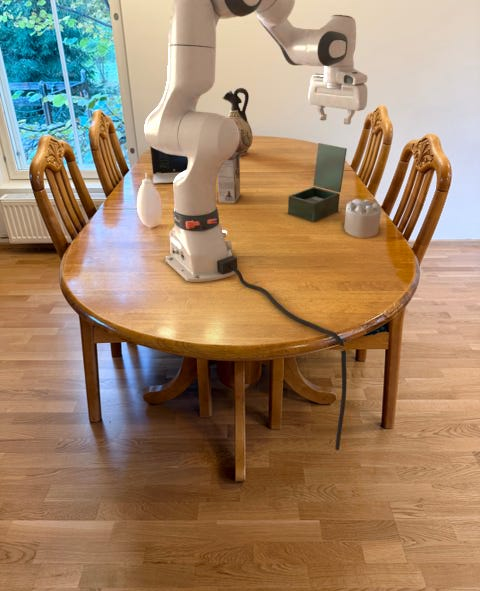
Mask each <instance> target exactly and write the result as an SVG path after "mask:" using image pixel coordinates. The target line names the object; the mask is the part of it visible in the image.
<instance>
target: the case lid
mask: <svg viewBox="0 0 480 591" xmlns="http://www.w3.org/2000/svg"><path fill="white" fill-rule="evenodd" d="M347 150H348V148H346V147H341V146H336V145H332V144H327V143H322V142H318V143H317V150H316V158H315V167H314V174H313V183H312V187H316V188H320V189H324V190H328V191H331V192H335V193H339V194H341V192H342V185H343V178H344V171H345V165H346V157H347Z"/></svg>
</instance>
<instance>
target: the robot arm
mask: <svg viewBox="0 0 480 591" xmlns="http://www.w3.org/2000/svg"><path fill="white" fill-rule="evenodd" d="M295 3H296V0H173V1H172V4H171V5H172V6H171V10H170V17H169V27H168V55H167V56H168V58H167V59H168V60H167V62H168V63H167V64H168V65H167V81H166V86H165V90H164V93H163V96H162V98H161V100H160V102H159V104H158V106H157V107H156V108H155V109H154V110H153V111H152V112H151V113H150V114H149V115H148V116H147V118H146V120H145V124H144V136H145V140H146V142H147V144H148V145H149V147H150V146H151V147H152V148H154V149H156V150H159V151H161V152H164V153H166V154H172V155H179V156H186V157H187V158H188V167H187V170H185V171H183V172H182V173H180V174H179V175H178V176H177V177H176V178H175V180H174V182H173V183H172V192H173V203H174V208H173V214H172V215H173V217H172V218H173V223H174V226H173V227H172V229H171V230H170V231H169V248H170V249H169V250H170V254H168V255H166V256H165V259H164V260H165V263H167V265H168V266H170V267H171V268H172V269H173V270H174V271H175V272H176V273H177V274H178V275H179V276H181V278H183V279H184V280H185V281H186V282H189V283H202V282H203V283H204V282H212V281H218V280H222V279H226V278H229V277H232V276H234V275H237V277H238V280H239V282H240V283H241V284H242V285H243V286H245V287H247V288H249V289H253V290H256V291H259V292H261V293H263V295H265V296H266V297H267V298H268V299H269V302H271V303H272V304H273V306H275V307H276V308H277V309H278V310H279V311H280V312H282V313H283V314H284V315H285V316H287V317H288V318H290V319H291V320H293V321H295V322H297V323H299V324H301V325H304V326H306V327H309V328H310V329H313V330H315V331H318V332H320V333H322V334H325V335H328V336H331V337H332V338H333V339H334V340H335V341H336V342H337V343H338V345H339V346H340V347H344V346H345V343H344V340H342V338H341V337H340V335H339V334H337V333H336V332H335V331H333V330H330V329H326V328H324V327H322V326H319V325H317V324H315V323H312V322H310V321H307V320H305V319H303V318H301V317H298V316H296V315H294V314H293V313H291V312H290V311H289V310H287V309H286V308H285V307H283V306H282V305H281V304H280V303H279V302H278V301H276V299H275V298H274V297H273V295H272V294H271V293H270V292H269V291H268V290H267V289H265V288H263V287H262V286H259V285H255V284H251V283H249V282H247V281H246V280H245V279H244V277H243V274H242V273H241V271H240V270H239V269H238V257H236V256H235V255H233V253H232V249H233V248H232V245H233V244H232V241H230V240H228V241H227V240H226V239H225V238H227V234H228V231H227V230H223V225H222V223H220V213H219V208H218V206H217V181H218V172H219V170H220V168H221V166H222V165H223V163H224V162H225V161H226V160H227V159H229V158H230V157H231V156H232V155H233V154H234V153H235V151H236V150H237V147H238V144H239V130H238V127H237V125H236V123H235V122H234V120H232V119H231V118H228V117H227V116H225V115H223V114H219V113H217V112H207V111H206V112H205V111H197V105H198V102H199V99H200V98H201V97H202V96H203V95H204V94H206V93H208V92H209V91H210V90H211V89H212V88H213V87H214V85H215V82H216V65H217V64H216V63H217V62H216V61H217V60H216V59H217V25H218V22H219V20H226V19H233V18H236V17H240V18H242V17H247V16H249V15H251V14H252V13H254V14H255V15H256V17H257V19H258V21H259V23H260V24H261V26H262V27H263V28H264V29H265V31H266V32H267V34H269V35H270V36H271V37H272V39H273V40H274V42H275V43H276V44H277V46H278V47H279V49H280V51H281V53H282V55H283V57H284V59H285V61H286V62H287V63H288V64H289V65H291V66H309V67H322V68H324V69H323V73H314V74H313V75H312V76H311V77H310V86H309V90H308V99H307V100H308V104H309V105H312V106H316V107H317V108H316V109H317V111H318V114H319V120H320V121H326V120H327V116H328V114H327V113H325V110H324V109H325V107H327V108H333V109H334V108H335V109H341V110H347V116H346V117H345V118H343V124H344V125H351V123H352V118H353V117H354V115H355V113H356V112H361V111H364V110H365V109H366V108H367V105H368V86H367V84H366V83H367V82H368V75H367V74H365V73H364V72H362V71H359V70H358V69H356V68H355V61H354V54H355V51H356V44H357V23H356V19H355V18H354V17H352V16H350V15H347V14H345V15H343V14H333V15H331V16H330V17H329V20H328V22H327V23H326V24H325V25H323V26H321V27H320V28H319V29H317V28H316V29H315V28H301V27H295V26H294V25H293V24H292V23H291V22H290V21H289V19H288V18H289V17H290V15H291V14H292V11H293V10H294V7H295ZM340 355H341V356H340V357H341V364H340V365H341V397H340V398H341V399H340V406H339V407H340V408H339V415H338V423H337V430H336V437H335V446H334V447H335V448H334V449H335V450H336V451H340V446H341V438H342V430H343V429H342V428H343V422H344V417H345V408H346V401H347V350H345V349H344V350H341V351H340Z"/></svg>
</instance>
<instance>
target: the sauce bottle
mask: <svg viewBox="0 0 480 591" xmlns="http://www.w3.org/2000/svg"><path fill="white" fill-rule="evenodd" d="M136 210H137V215H138V217H139V219H140V221H141V223H142V224H143V225H145V226H146V227H148V228H151V229H153V228H155V227H157V226H158V225H159V224H160V222H161V220H162V217H163V203H162V199H161V195H160V193H159V191H158V189H157V187H156V186H155V184H154V183H153V182H152V180H151V179H150V178H148V173H147V171H145V178H144V179H142V183H141V184H140V187H139V189H138V193H137V198H136Z"/></svg>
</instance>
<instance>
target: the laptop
mask: <svg viewBox="0 0 480 591" xmlns="http://www.w3.org/2000/svg"><path fill="white" fill-rule="evenodd" d="M149 149H150V150H149V151H150V160H151V168H152V184H153V185H161V184H173V182H174V180H175V178H176V177H177V176H178V175H179V174H180V173H182V172H183V171H185V170H187V167H188V158H187V157H186V156H179V155H172V154H166V153H164V152H161V151H159V150H156V149H154V148H152V147H151V146H150V145H149Z"/></svg>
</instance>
